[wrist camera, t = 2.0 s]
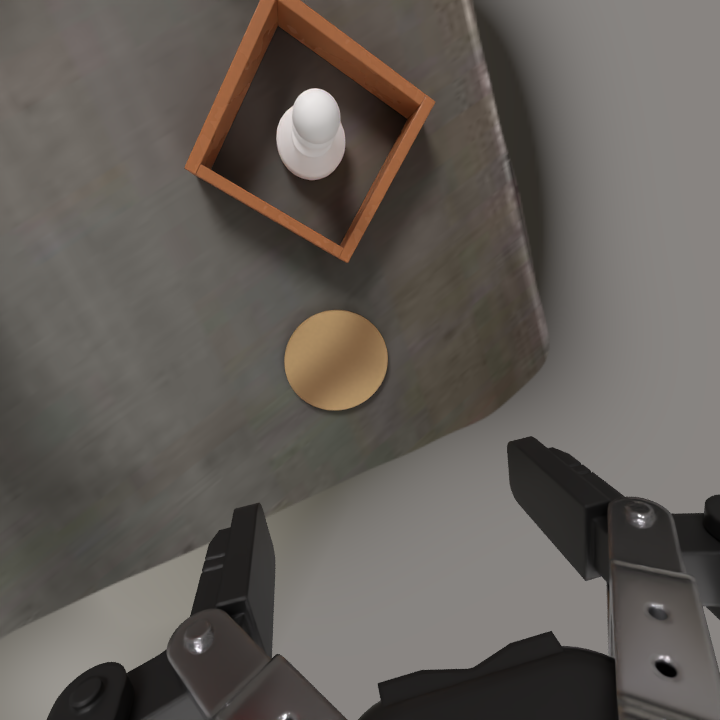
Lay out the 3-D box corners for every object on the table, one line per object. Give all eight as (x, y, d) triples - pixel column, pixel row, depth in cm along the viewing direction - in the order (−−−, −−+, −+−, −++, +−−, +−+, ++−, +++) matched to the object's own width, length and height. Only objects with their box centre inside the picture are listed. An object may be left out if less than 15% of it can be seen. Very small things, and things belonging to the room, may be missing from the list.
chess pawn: (356, 146, 32) (380, 113, 24) (311, 194, 33) (319, 179, 24) (309, 91, 31) (316, 34, 22) (262, 143, 31) (252, 106, 23)
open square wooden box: (195, 175, 31) (183, 168, 28) (272, 7, 29) (270, -23, 26) (342, 261, 34) (347, 263, 31) (420, 115, 32) (435, 101, 29)
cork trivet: (266, 381, 36) (265, 384, 36) (315, 290, 35) (315, 291, 34) (355, 423, 39) (356, 426, 38) (404, 339, 37) (406, 341, 37)
